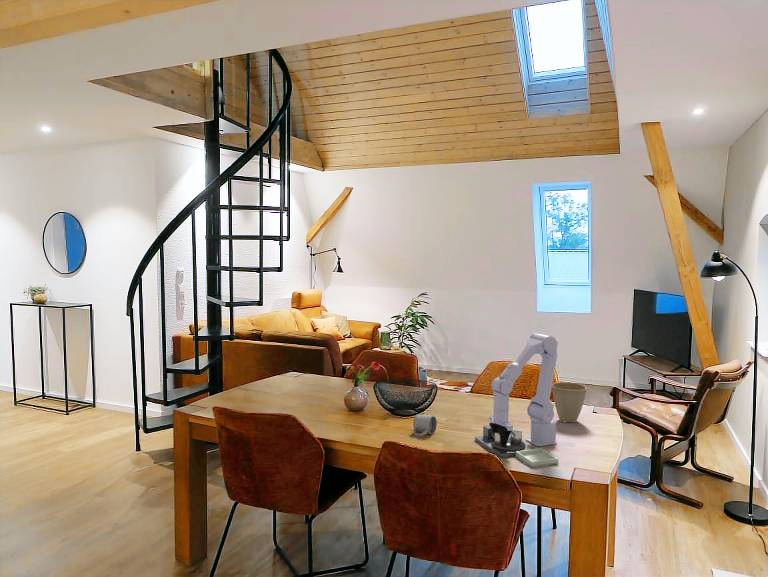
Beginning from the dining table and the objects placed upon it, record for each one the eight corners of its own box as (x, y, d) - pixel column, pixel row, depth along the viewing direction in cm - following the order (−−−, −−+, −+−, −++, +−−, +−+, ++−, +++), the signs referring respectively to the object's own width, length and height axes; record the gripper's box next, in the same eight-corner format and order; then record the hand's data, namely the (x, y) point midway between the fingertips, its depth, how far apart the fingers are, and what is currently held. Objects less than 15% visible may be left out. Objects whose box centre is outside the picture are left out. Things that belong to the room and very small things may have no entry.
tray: (540, 453, 219) (540, 448, 219) (558, 463, 209) (558, 458, 208) (515, 456, 216) (515, 451, 215) (532, 467, 205) (532, 462, 205)
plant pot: (587, 426, 251) (588, 391, 250) (552, 424, 254) (553, 389, 253) (582, 416, 266) (584, 382, 265) (549, 414, 269) (550, 381, 267)
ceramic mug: (420, 428, 248) (420, 410, 248) (437, 431, 244) (437, 413, 243) (408, 435, 239) (408, 417, 238) (426, 439, 235) (426, 420, 234)
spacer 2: (517, 439, 227) (518, 428, 227) (524, 443, 223) (524, 432, 223) (508, 441, 226) (508, 429, 226) (514, 444, 222) (514, 433, 221)
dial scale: (509, 436, 238) (509, 422, 237) (536, 453, 219) (537, 438, 219) (474, 440, 233) (475, 426, 232) (499, 458, 214) (500, 442, 213)
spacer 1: (502, 441, 225) (502, 430, 225) (508, 445, 221) (508, 433, 221) (492, 442, 224) (492, 431, 223) (498, 446, 219) (498, 435, 219)
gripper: (482, 404, 227) (482, 438, 228) (501, 415, 213) (500, 450, 214) (498, 403, 229) (497, 436, 230) (518, 413, 215) (517, 448, 216)
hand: (500, 443), depth 222 cm, fingers closed on spacer 1, 4 cm apart
